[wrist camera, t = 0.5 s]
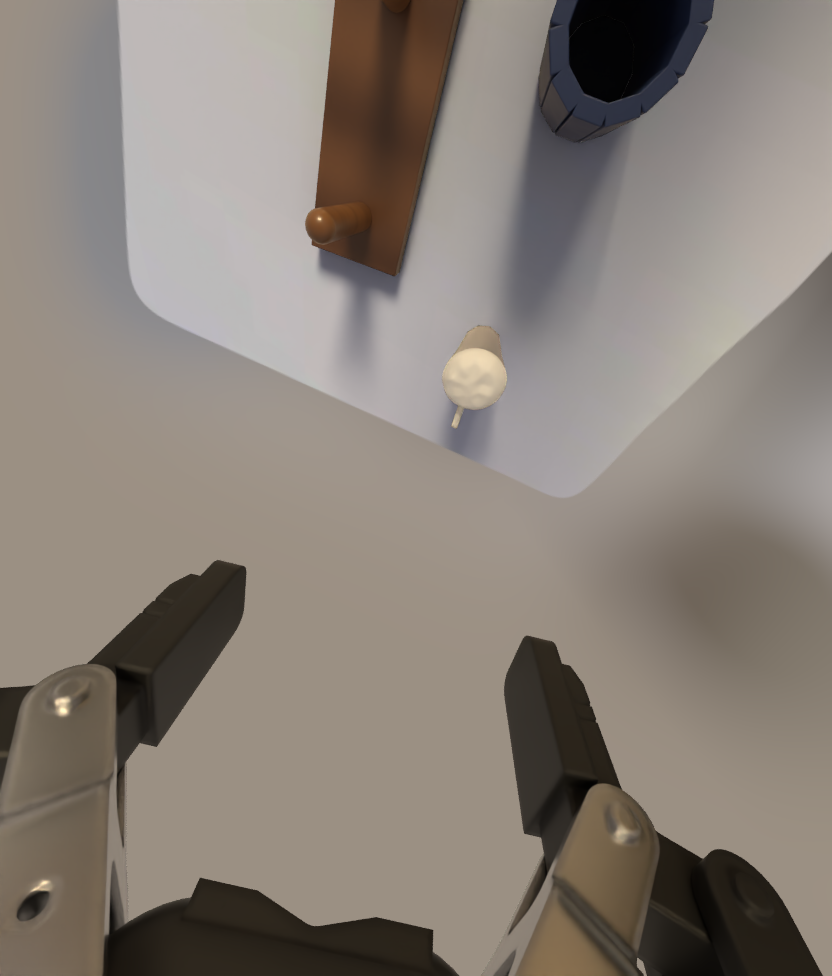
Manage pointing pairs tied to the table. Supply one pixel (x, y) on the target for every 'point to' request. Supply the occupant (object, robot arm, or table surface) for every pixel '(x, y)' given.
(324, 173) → the rack
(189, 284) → the table surface
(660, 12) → the navy ribbed cylinder
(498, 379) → the milkshake
